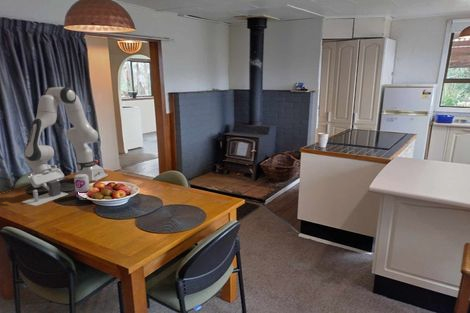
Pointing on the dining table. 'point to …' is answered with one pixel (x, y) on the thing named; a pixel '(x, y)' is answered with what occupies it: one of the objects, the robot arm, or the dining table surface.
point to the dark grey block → (54, 188)
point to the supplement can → (81, 184)
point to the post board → (42, 198)
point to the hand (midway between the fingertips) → (54, 187)
